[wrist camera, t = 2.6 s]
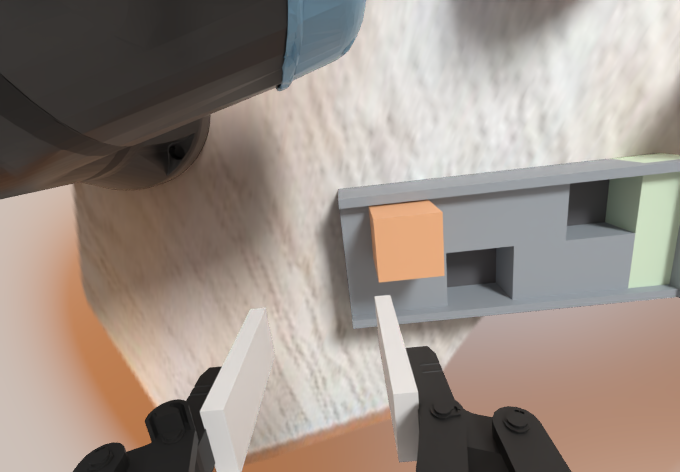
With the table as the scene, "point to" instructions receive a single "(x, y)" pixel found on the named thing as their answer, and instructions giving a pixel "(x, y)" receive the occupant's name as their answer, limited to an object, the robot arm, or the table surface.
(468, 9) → the table surface
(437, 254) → the block
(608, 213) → the box
